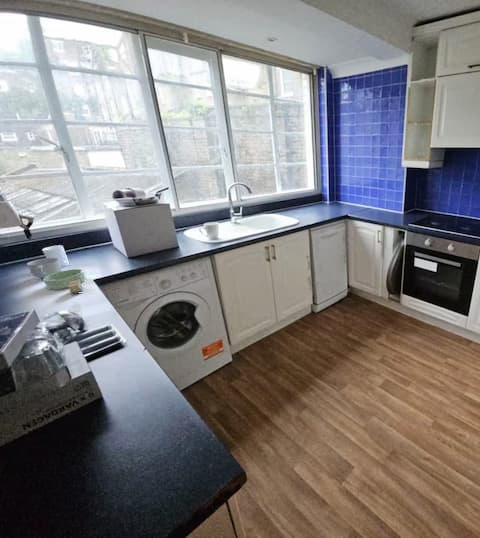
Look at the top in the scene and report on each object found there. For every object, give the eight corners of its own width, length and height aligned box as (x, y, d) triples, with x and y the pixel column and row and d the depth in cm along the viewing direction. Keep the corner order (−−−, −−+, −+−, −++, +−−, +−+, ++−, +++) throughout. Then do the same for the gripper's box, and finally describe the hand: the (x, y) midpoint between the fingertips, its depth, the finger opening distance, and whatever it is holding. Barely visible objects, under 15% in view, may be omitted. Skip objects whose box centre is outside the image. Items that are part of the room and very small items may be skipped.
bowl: (45, 293, 126) (40, 283, 124) (49, 283, 135) (45, 274, 134) (85, 284, 133) (81, 275, 132) (87, 275, 143) (83, 266, 141)
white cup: (46, 268, 153) (37, 250, 149) (62, 262, 160) (54, 245, 156) (58, 268, 152) (50, 250, 148) (74, 263, 159) (66, 245, 155)
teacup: (41, 273, 146) (34, 258, 143) (69, 269, 150) (62, 255, 147) (25, 285, 134) (17, 268, 131) (56, 280, 138) (48, 264, 135)
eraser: (82, 292, 125) (78, 284, 124) (71, 295, 123) (68, 286, 122) (82, 288, 130) (79, 280, 128) (73, 290, 128) (69, 282, 126)
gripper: (-47, 203, 107) (-22, 247, 114) (21, 197, 117) (40, 238, 123) (-40, 200, 112) (-16, 243, 119) (25, 195, 122) (43, 234, 129)
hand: (13, 240), depth 121 cm, fingers open, 9 cm apart
